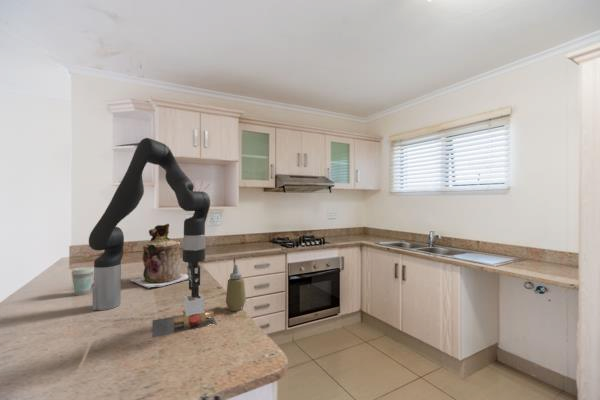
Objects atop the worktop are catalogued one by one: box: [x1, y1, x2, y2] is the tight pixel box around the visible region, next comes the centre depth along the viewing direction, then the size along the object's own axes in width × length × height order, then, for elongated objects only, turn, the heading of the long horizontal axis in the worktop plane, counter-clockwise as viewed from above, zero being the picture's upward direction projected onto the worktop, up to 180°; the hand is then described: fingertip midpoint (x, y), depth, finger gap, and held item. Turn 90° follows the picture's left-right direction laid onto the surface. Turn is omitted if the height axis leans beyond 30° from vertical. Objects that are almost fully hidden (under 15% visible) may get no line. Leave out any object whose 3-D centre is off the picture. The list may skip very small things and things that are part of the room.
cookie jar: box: [129, 223, 189, 289], centre depth 152 cm, size 25×25×32 cm
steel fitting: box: [183, 293, 205, 316], centre depth 96 cm, size 6×6×5 cm
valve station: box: [151, 297, 218, 338], centre depth 97 cm, size 20×14×10 cm
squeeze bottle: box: [225, 264, 247, 312], centre depth 111 cm, size 8×8×18 cm
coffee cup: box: [71, 266, 94, 296], centre depth 130 cm, size 9×9×12 cm
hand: (193, 293), depth 96 cm, fingers open, 8 cm apart
